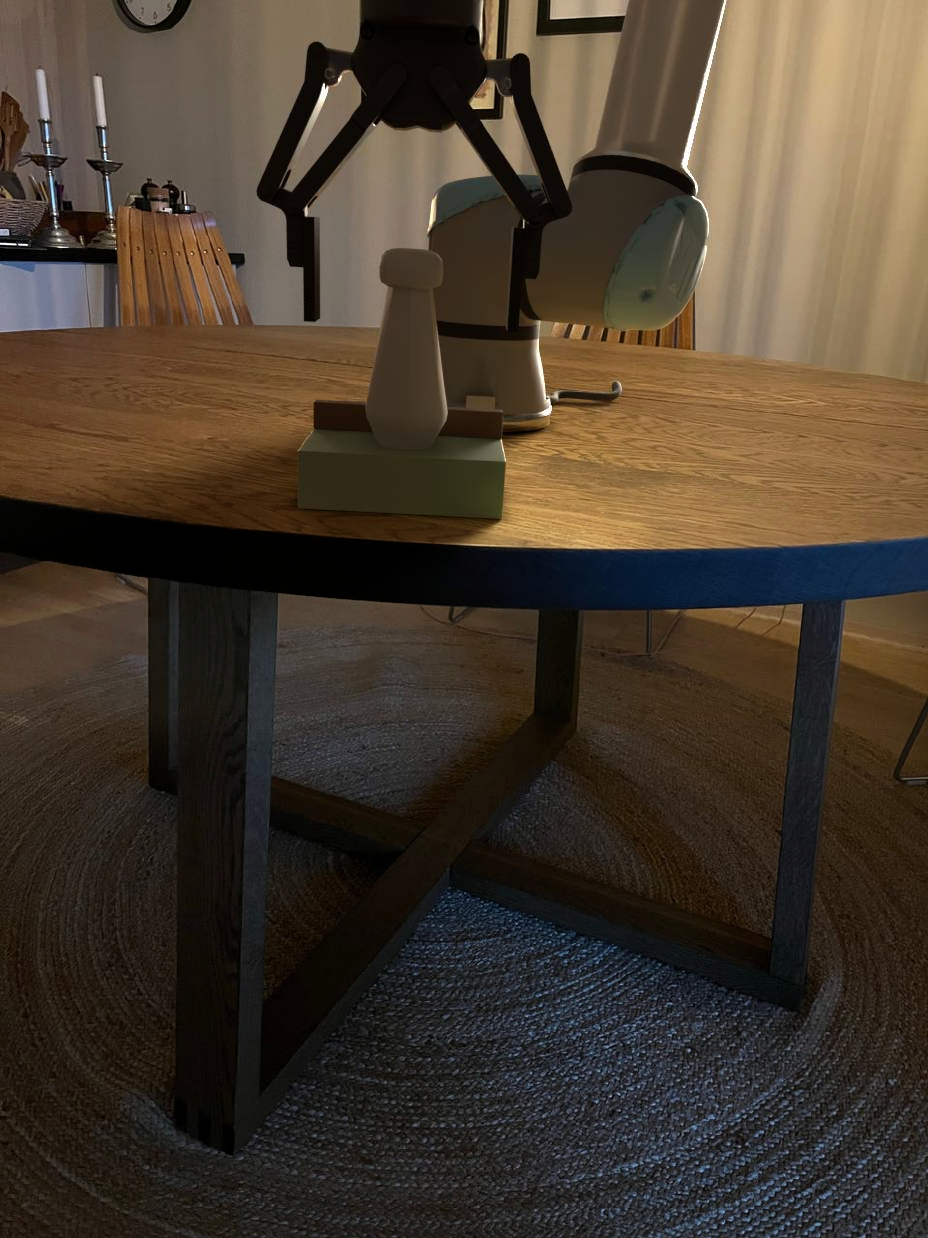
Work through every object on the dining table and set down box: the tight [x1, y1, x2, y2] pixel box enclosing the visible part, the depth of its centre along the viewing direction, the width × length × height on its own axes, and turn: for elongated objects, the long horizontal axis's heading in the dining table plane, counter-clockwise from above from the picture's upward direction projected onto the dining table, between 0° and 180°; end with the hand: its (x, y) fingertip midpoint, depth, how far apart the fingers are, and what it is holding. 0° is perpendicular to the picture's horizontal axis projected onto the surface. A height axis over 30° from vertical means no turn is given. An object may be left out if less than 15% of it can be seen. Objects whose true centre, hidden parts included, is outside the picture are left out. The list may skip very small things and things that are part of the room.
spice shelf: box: [297, 399, 507, 520], centre depth 71 cm, size 9×14×6 cm, turn 90°
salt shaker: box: [365, 247, 448, 450], centre depth 68 cm, size 6×6×13 cm
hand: (412, 325), depth 68 cm, fingers open, 13 cm apart
